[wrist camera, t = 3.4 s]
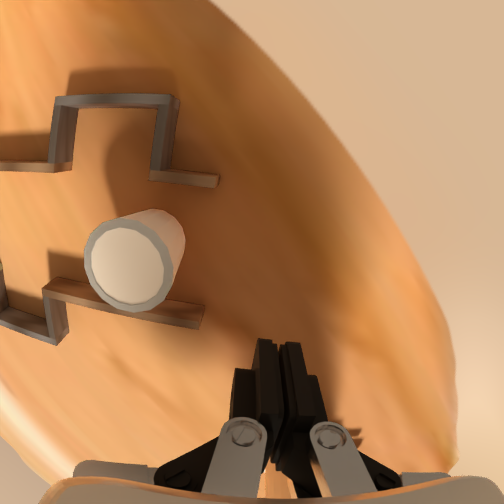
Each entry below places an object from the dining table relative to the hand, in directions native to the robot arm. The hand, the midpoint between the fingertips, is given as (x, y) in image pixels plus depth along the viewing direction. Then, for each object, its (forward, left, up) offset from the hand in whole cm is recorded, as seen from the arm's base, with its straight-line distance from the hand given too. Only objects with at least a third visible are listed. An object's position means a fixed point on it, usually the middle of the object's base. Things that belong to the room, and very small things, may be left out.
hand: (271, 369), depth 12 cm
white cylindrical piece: (+9, 0, -16) cm, 18 cm away
